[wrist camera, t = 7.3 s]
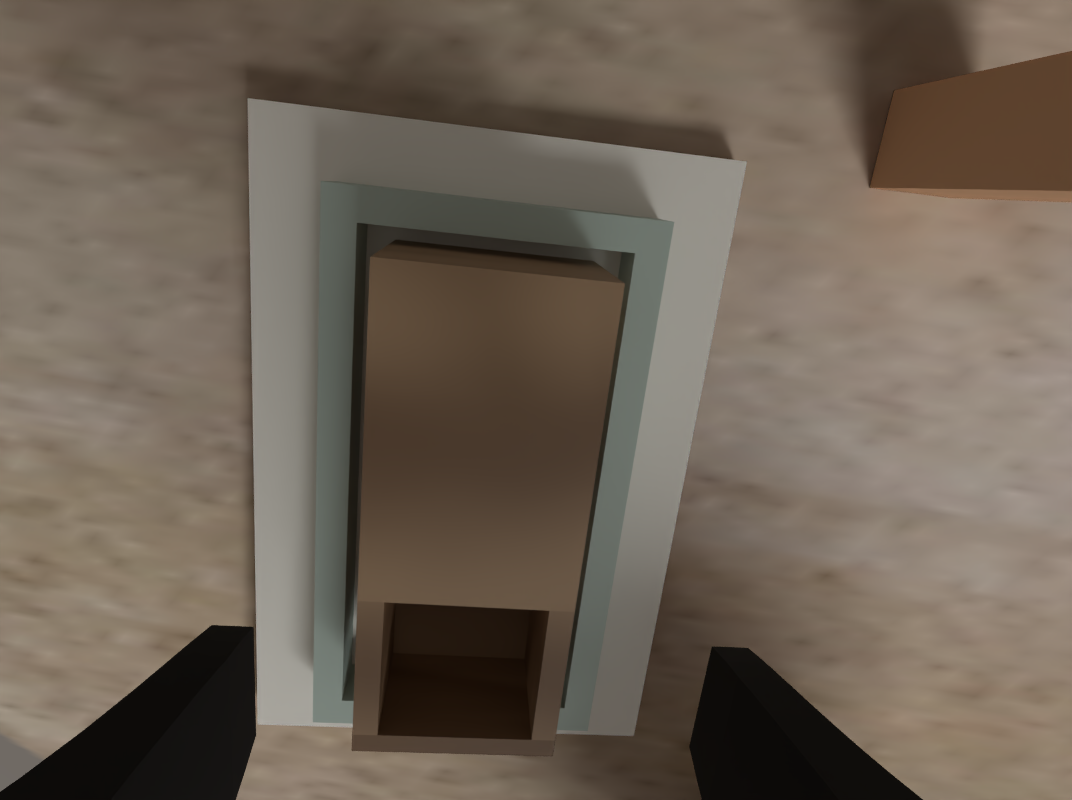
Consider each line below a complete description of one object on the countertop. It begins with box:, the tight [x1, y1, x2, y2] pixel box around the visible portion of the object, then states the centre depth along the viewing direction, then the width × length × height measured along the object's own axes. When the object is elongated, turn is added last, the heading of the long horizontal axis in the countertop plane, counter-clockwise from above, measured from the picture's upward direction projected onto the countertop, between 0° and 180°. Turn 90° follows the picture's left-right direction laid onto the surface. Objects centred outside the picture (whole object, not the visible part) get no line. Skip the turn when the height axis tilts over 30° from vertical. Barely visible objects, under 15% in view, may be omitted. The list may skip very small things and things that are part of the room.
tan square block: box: [870, 51, 1072, 202], centre depth 15 cm, size 2×2×6 cm
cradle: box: [248, 98, 747, 736], centre depth 18 cm, size 18×12×2 cm, turn 174°
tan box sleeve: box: [352, 240, 625, 756], centre depth 17 cm, size 12×5×4 cm, turn 173°
